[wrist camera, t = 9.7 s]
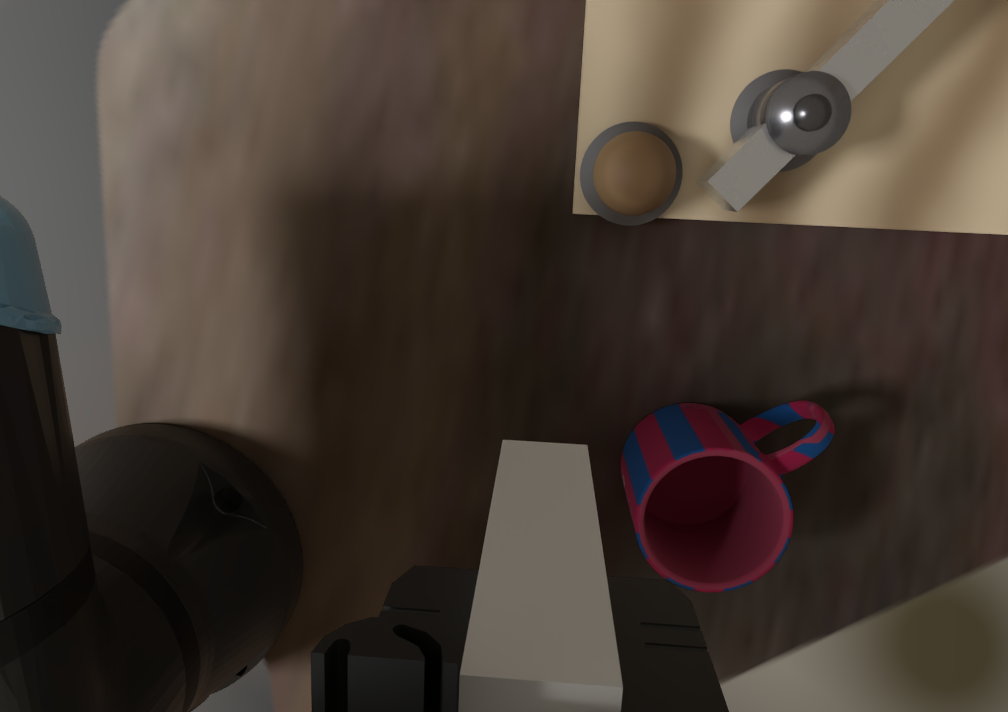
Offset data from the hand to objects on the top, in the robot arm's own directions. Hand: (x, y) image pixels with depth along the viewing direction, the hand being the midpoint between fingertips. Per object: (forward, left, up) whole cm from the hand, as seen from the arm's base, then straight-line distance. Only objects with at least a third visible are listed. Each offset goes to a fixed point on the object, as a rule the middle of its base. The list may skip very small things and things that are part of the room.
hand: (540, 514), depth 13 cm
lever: (+12, +12, -23) cm, 28 cm away
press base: (+11, +13, -24) cm, 30 cm away
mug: (+9, -7, -25) cm, 27 cm away
